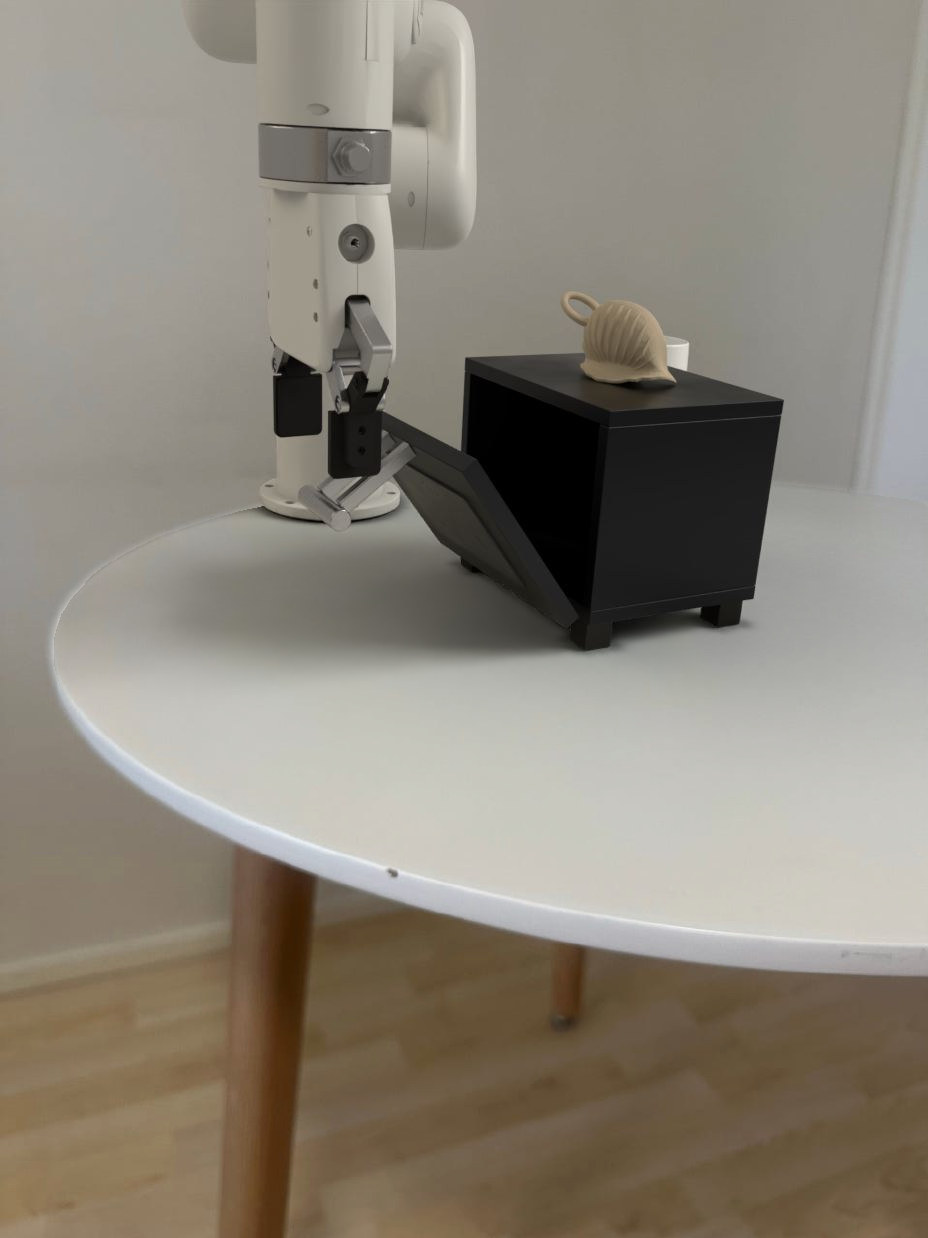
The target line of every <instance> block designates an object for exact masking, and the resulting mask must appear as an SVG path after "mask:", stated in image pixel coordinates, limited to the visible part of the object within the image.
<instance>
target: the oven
mask: <svg viewBox="0 0 928 1238" xmlns="http://www.w3.org/2000/svg"><path fill="white" fill-rule="evenodd" d="M585 358H586V357H585V353H584V352H571V353H547V354H544V353H542V354H540V353H539V354H515V355H492V356H491V355H490V356H469V357H468V356H466V357H464V377H463V396H462V416H461V417H462V418H461V436H460V437H461V441H460V451H461V452H463V453H465V454H467V455H469V456H471V457H473V458H475V459H477V460H478V462H479V463H480V465H481V466H482V468H483V469H484V471H485V472H486V474H487V475H488V477H489V479H490V480H491V482H492V483H493V485H494V486H495V488H496V489H497V491H498V492H499V494H500V495H501V497H502V499H503V500H504V502H505V503H506V505H507V506H508V508H509V509H510V511H511V512H512V514H513V515H514V517H515V519H516V520H517V522H518V523H519V525H520V526H521V528H522V529H523V531H524V532H525V534H526V535H527V537H528V538H529V540H530V542H531V543H532V545H533V546H534V548H535V549H536V551H537V552H538V554H539V555H540V557H541V558H542V560H543V562H544V563H545V565H546V566H547V568H548V569H549V571H550V572H551V574H552V575H553V577H554V578H555V580H556V582H557V583H558V585H559V586H560V588H561V589H562V591H563V592H564V594H565V595H566V597H567V598H568V600H569V601H570V603H571V605H572V606H573V608H574V609H575V611H576V612H577V614H578V615H579V618H578V619H577V620H575V621H574V622H573V623H572V624H571V625H570V626H569V627H570V628H569V638H568V639H569V641H571V642H572V643H573V644H575V645H576V646H578V647H579V648H581V649H582V650H584V651H591V650H597V649H602V648H607V647H608V648H609V647H610V646H611V640H612V632H613V624H614V622H621V621H626V620H627V621H628V620H633V619H634V620H635V619H638V618H644V617H651V616H657V615H663V614H670V613H676V612H681V611H682V612H683V611H688V610H694V609H700V614H699V618H700V619H701V620H703V621H704V622H707V623H708V624H710V625H712V626H714V627H715V628H719V629H720V628H723V627H729V626H736V625H740V623H741V616H742V611H743V603H744V601H750V600H754V599H755V592H756V584H757V578H758V573H759V566H760V559H761V553H762V545H763V541H764V540H763V539H764V532H765V526H766V520H767V514H768V507H769V501H770V500H769V499H770V492H771V486H772V481H773V474H774V469H775V461H776V453H777V448H778V440H779V434H780V429H781V428H780V427H781V420H782V415H783V409H784V404H785V399H783V398H780V397H777V396H773V395H769V394H765V393H762V392H759V391H756V390H753V389H749V388H746V387H743V386H739V385H736V384H731V383H728V382H725V381H721V380H718V379H715V378H711V377H707V376H704V375H700V374H697V373H694V372H690V371H688V370H687V371H684V370H681V369H677V368H674V367H670V366H667V368H668V371H669V372H670V374H671V375H672V376H673V378H674V379H675V380H676V383H675V382H673V381H671V380H668V379H655V380H640V381H637V382H631V381H627V382H623V383H608V382H601V381H596V380H594V379H593V378H591V377H589V376H587V375H586V374H585V372H584V371H581V367H580V364H581V363H584V361H585ZM460 565H461V566H462V567H464V568H465V569H467V570H468V571H470V572H471V573H476V572H482V571H481V570H479V569H478V568H476V567H475V566H473V565H472V564H470V563H469V562H467V561H466V560H465V559H463V558H462V557H460Z"/></svg>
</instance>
